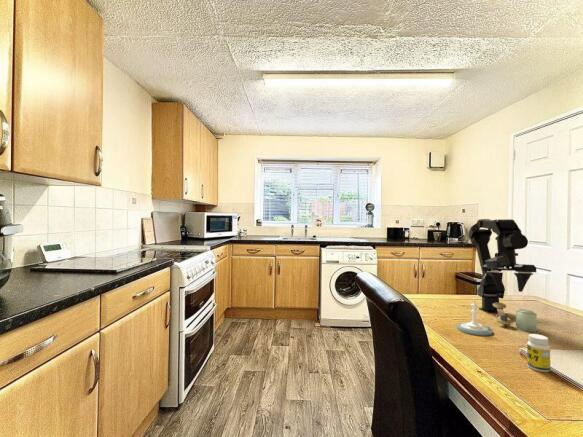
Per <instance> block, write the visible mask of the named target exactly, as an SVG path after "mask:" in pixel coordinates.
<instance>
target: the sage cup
mask: <svg viewBox="0 0 583 437" xmlns="http://www.w3.org/2000/svg"><path fill="white" fill-rule="evenodd" d="M537 322H538V320H537V313H536V312H534V311H533V310H531V309H524V308H520V309H518V310H515V323H516V324H515V327H516V329H517V330H520V331H524V332H531V333H534V332H535V333H536V332H537V330H538V326H537V324H538V323H537Z"/></svg>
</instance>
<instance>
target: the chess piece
mask: <svg viewBox="0 0 583 437" xmlns="http://www.w3.org/2000/svg"><path fill="white" fill-rule="evenodd" d="M472 300H473V301H472V303H471V304H470V306H471V308H472V309H471V310H470V312H471V313H472V317H471V318H472V319H471V321H470V322H466V323H467V327H470V328H474V329H482V325H483V324H480V323H479V321H478V319H477V313H478V312H479V311H478V310H477V308H478V304H477V303H476V299H475V298H473V299H472Z"/></svg>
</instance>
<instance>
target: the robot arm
mask: <svg viewBox="0 0 583 437" xmlns="http://www.w3.org/2000/svg"><path fill="white" fill-rule="evenodd" d="M493 233H494V234H496V235H497V236H495V238H494V239H495V241H496V244H497V245H496V248H497V252H495V253H494V257H491V253H490V250H489V249H490V248H489V245H488V244H489V242H490V240H491V236H492V234H493ZM467 235H468V238H469V241H470V244H472V246H474V247H475V249H476V253H477V257H478V262H479V265H480V270H481V273H482V277H481V279H480V284H479V286H478V289H477V290H476V291H477V296H479V297H480V298H481V307H478V310H481V311H484V312H485V313H489V314H493V313H496V314H498V311H497V308H496V307H494V306H493V303H495V302H499V303H501V301H500V299H504V296H505V291H506V288H505V285H504V283H503V274H504V272H502V271H509V272H510V271H511V272H512V271H515V272H513V274H514V276H515V277H516V281H517V290H518V293H519V292H520V293H522V292H523V291H524V289H525V286H526V285H527V283H528V281H529V279H530V278H531V276H532V275H534V273H537V267H536V266H535V265H534V264H526V263H522V264H519V263H517V257H518V256H519V253H518V252H516V250H521V249H525V248H527V246H528V244H529V239H528V238H527V237H526V236H525V235H524V234H523V233H522V230H521V228H519V226H518V224H517V222H516V221H515V220H514V219H509V218H508V219H504V218H503V219H489V218H480V219H478V220H476V223H475V224H474V225H472V226H471V227H470V228H469V231H468V234H467Z"/></svg>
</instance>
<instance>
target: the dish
mask: <svg viewBox="0 0 583 437" xmlns="http://www.w3.org/2000/svg"><path fill="white" fill-rule="evenodd" d="M467 323H468V322H459V323H457V324H456V329H457V330H458V331H460V332H462V333H464V334H468V335H473V336H479V337H480V336H481V337H485V336H491V335H493V328H491V327H490V326H487V325H484V324H481V325H482V329H474V328H470V327H467Z"/></svg>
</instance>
